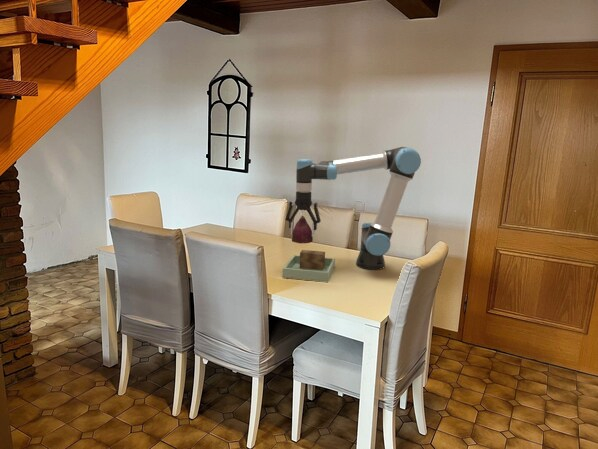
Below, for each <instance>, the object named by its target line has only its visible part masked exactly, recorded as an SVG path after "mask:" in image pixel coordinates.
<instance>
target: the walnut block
mask: <svg viewBox="0 0 598 449" xmlns="http://www.w3.org/2000/svg"><path fill="white" fill-rule="evenodd" d="M299 255H300V268H306V269H317V270H323V269H324V267H325V258H326V251H320V250H309V249H301V251H300V253H299Z"/></svg>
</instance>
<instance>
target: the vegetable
mask: <svg viewBox="0 0 598 449" xmlns="http://www.w3.org/2000/svg"><path fill="white" fill-rule="evenodd" d="M313 238H314V237H312V227H311V226H310V225H309V224H308V222H307V220H306V217H305V216H304V215H301V216H300V217H299V219H298V220H297V222H296V223H295V224H294V231H293V235H291V241H292V243H296V244H300V245H301V244H310V243H312V242H313V240H314V239H313Z"/></svg>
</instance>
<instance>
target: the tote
mask: <svg viewBox="0 0 598 449" xmlns="http://www.w3.org/2000/svg"><path fill="white" fill-rule="evenodd" d="M335 262H336V258H331V257H325V267H324V269H323V270H317V269H306V268H300V254H293V255H292V256H291V258H289V259H288V261H287V262H286V264H285V265H284V266H283V267H282V278H283V279H286V280H296V281H306V282H313V281H314V282H316V283H325V284H326V283H328V284H329V280H330V278H331V276H332V274H333V271H334V269H335V266H336V263H335Z"/></svg>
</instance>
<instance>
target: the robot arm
mask: <svg viewBox="0 0 598 449" xmlns="http://www.w3.org/2000/svg"><path fill="white" fill-rule="evenodd" d="M421 164H422V159H421V155H420V153H419V152H418V151H416V150H415V149H414V148H412V147H406V146H400V147H396V148H392V149H388V150H383V151H382V152H380V153H373V154H366V155H361V156H360V155H359V156H354V157H346V158H341V159H339V158H338V159H333V160H327V161H326V160H323V161H320V162H318V163H314V162H313V160H312V159H311V158H310V159H309V158H299V159H298V160H296V180H295V181H296V183H295V187H296V188H295V190H296V192H295V201H292V200H291V201H289V207H288V210H287V213H286V217H285V221H287V222H288V228H289V229H290V236H292V235H293V231H294V228H295V221H293V220H294V218H295V217H296V216H297V214H298V212H299V211H307V213H308V215H309V217H310V219H311V221H312V224H311V230H312V237H313V238H314V237H315V231H317V229H318V224H320V223H321V216H320V213H319V209H318V205H319V204H318V202H312V189H313V188H312V184H313V180H326V181H327V180H328V181H331V180H333V181H335V180H336V179H337V177H338V175H344V174H350V173H358V172H359V173H360V172H365V171H372V170H380V169H384V170H386V171H387V170H389V171H388V172H389V174H390V178H389V180H388V183H387V187H386V189H385V192H384V195H383V197H382V201H381V203H380V205H379V208H378V212H377V214H376V217H375V219H374V221H373V222H364V223H362V224H361V228H360V229H361V235H360V251H359V253H358V256H357V258H356V260H355V261H356V262H355V264H356V266H357V267H359V268H361V269H366V270H381V269H380V268H382V269H384V268H385V267H386V261H385V257H384V255H385V254H386V253H387V252H388V251H389V250H390V248H391V238H392V236H393V232H394V231H393V229H392V227H393V225H394V221H395V218H396V215H397V213H398V210H399V207H400V204H401V202H402V199H403V198H404V197H403V196H404V194H405V191H406V188H407V186H408V183H409V182H410V181H411V180H413V178H414V176H415V173H416V172H417V171H418V170H419V169H420V167H421ZM294 205H295V206H296V208H295V210H294V211H293V213H292V210H293V208H294ZM311 206H312V207H313V210H314V212H313V211H312V209H311ZM291 214H292V215H291ZM314 214H315V215H314ZM383 267H384V268H383Z"/></svg>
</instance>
